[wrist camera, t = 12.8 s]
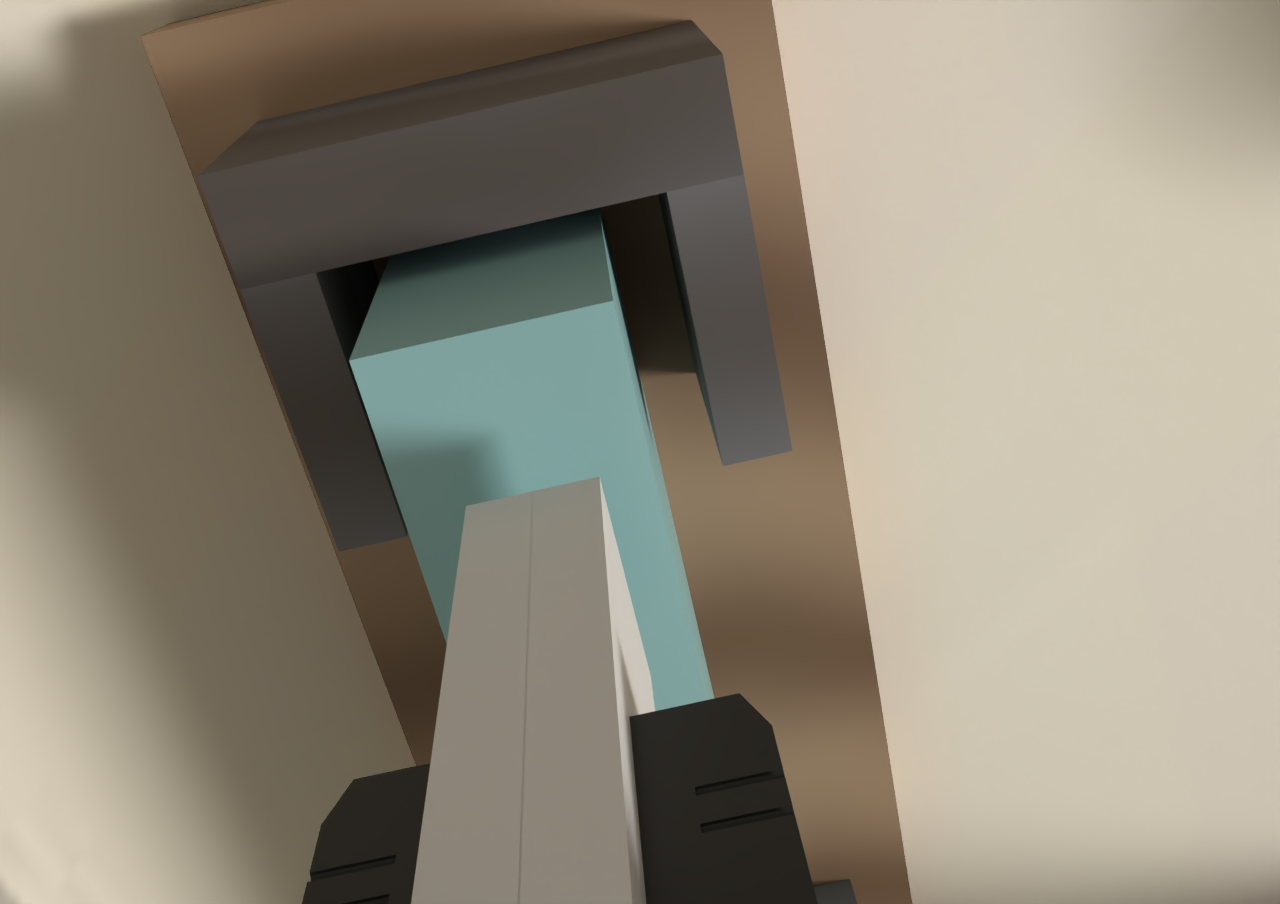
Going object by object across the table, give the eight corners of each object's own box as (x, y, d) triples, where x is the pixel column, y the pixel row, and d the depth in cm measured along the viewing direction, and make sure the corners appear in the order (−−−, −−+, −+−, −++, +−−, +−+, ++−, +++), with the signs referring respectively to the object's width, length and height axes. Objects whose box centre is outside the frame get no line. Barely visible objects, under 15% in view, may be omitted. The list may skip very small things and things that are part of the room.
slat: (778, 976, 27) (836, 1257, 21) (644, 1004, 27) (669, 1291, 21) (593, 174, 19) (613, 300, 13) (404, 218, 19) (349, 360, 14)
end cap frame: (922, 1029, 30) (988, 1234, 26) (565, 1103, 30) (568, 1319, 26) (739, -111, 19) (801, -103, 14) (169, 23, 19) (51, 75, 14)
